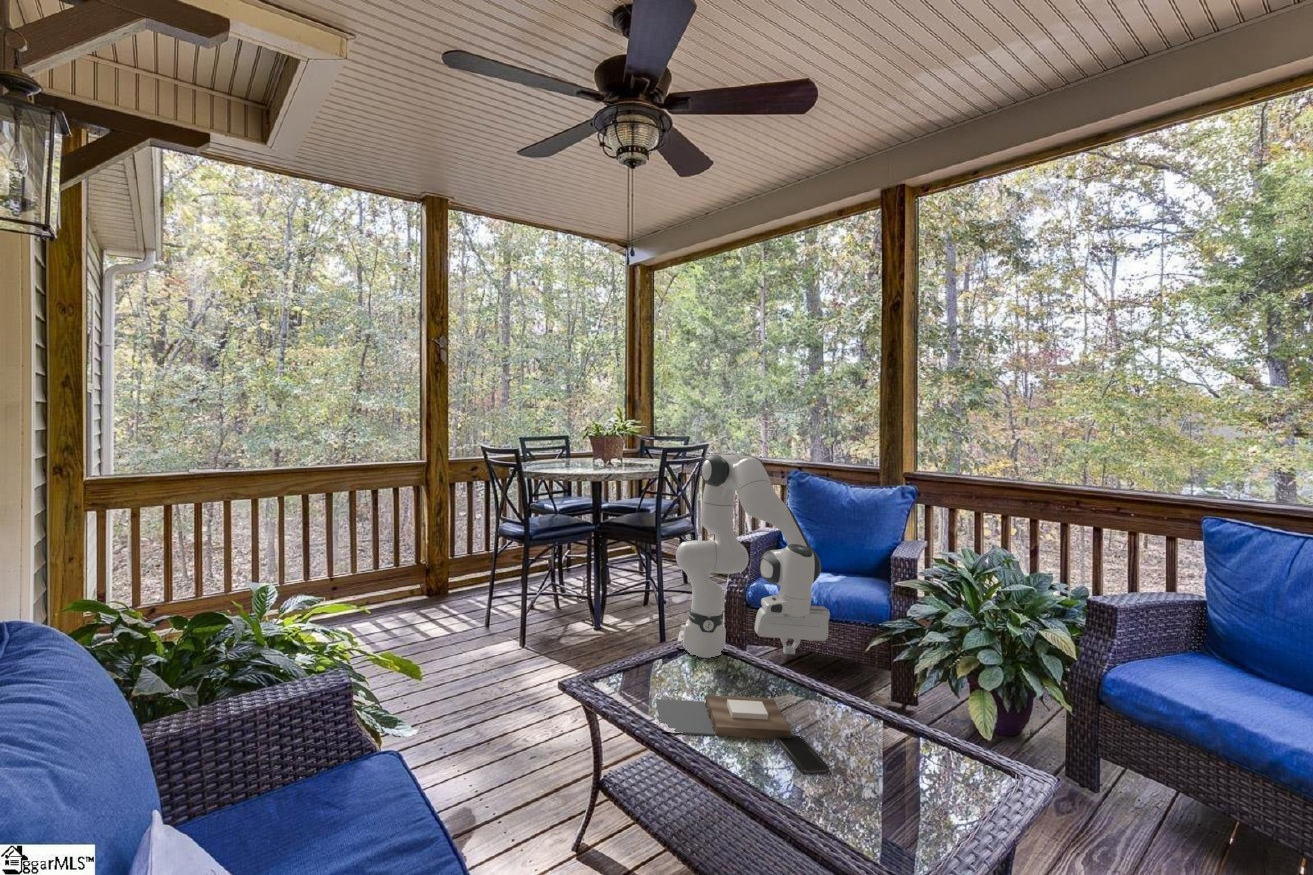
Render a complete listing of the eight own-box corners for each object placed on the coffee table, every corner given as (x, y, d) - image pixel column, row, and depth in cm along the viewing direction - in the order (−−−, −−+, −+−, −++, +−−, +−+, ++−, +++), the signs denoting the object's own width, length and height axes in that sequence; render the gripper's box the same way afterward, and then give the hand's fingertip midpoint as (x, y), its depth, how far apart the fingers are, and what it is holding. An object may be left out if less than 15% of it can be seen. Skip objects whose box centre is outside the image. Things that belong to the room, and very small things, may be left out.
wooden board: (705, 703, 176) (706, 695, 176) (772, 707, 178) (773, 698, 178) (715, 735, 159) (716, 726, 159) (789, 739, 161) (790, 730, 161)
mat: (656, 700, 175) (656, 698, 175) (703, 703, 176) (704, 701, 176) (661, 732, 158) (661, 731, 158) (714, 735, 159) (714, 733, 159)
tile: (726, 704, 172) (727, 699, 172) (761, 706, 172) (761, 701, 172) (731, 717, 165) (732, 712, 165) (767, 719, 166) (768, 714, 165)
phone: (802, 771, 146) (774, 736, 160) (802, 776, 146) (774, 741, 160) (831, 769, 148) (801, 735, 162) (831, 774, 148) (801, 739, 163)
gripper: (826, 603, 172) (821, 650, 172) (755, 598, 170) (750, 646, 171) (834, 610, 165) (829, 660, 166) (761, 605, 164) (756, 655, 164)
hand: (788, 653), depth 168 cm, fingers closed
